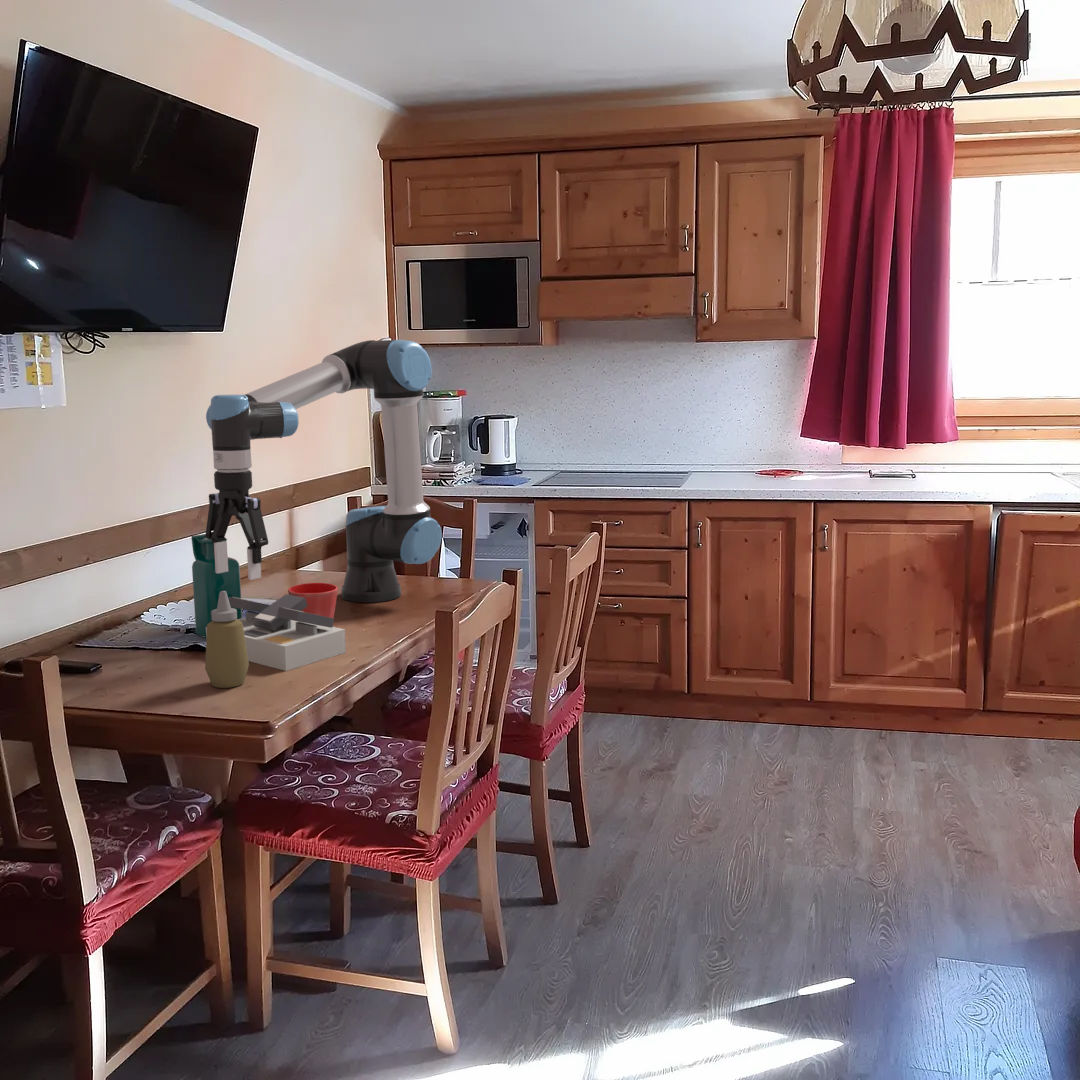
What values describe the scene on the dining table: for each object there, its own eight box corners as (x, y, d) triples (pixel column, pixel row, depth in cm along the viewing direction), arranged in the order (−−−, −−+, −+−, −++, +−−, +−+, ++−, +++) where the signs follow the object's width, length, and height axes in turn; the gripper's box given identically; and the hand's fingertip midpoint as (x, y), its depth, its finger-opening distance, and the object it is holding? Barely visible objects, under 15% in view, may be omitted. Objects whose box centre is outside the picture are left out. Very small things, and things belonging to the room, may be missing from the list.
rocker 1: (262, 612, 233) (265, 603, 233) (281, 616, 230) (283, 607, 230) (226, 605, 225) (229, 596, 225) (245, 609, 221) (247, 599, 222)
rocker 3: (312, 623, 224) (314, 613, 224) (332, 627, 220) (334, 617, 220) (276, 616, 216) (279, 606, 216) (296, 621, 212) (299, 610, 212)
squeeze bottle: (211, 678, 205) (205, 587, 202) (253, 677, 206) (249, 586, 202) (201, 691, 197) (195, 597, 194) (245, 690, 198) (240, 596, 194)
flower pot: (328, 636, 234) (326, 594, 233) (282, 634, 237) (280, 591, 235) (346, 624, 245) (344, 583, 243) (301, 622, 247) (300, 581, 245)
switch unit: (267, 634, 237) (265, 604, 235) (345, 652, 222) (344, 621, 221) (207, 650, 224) (205, 619, 223) (286, 671, 209) (284, 637, 208)
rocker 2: (288, 601, 228) (285, 593, 227) (307, 605, 225) (304, 597, 224) (254, 626, 221) (251, 617, 221) (273, 630, 218) (270, 622, 217)
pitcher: (246, 633, 237) (241, 536, 233) (212, 641, 231) (206, 541, 227) (223, 625, 244) (218, 531, 240) (189, 633, 238) (183, 536, 234)
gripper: (183, 468, 222) (189, 571, 226) (253, 475, 209) (259, 585, 213) (213, 465, 228) (219, 566, 232) (283, 472, 215) (288, 579, 219)
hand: (238, 575), depth 223 cm, fingers open, 10 cm apart
